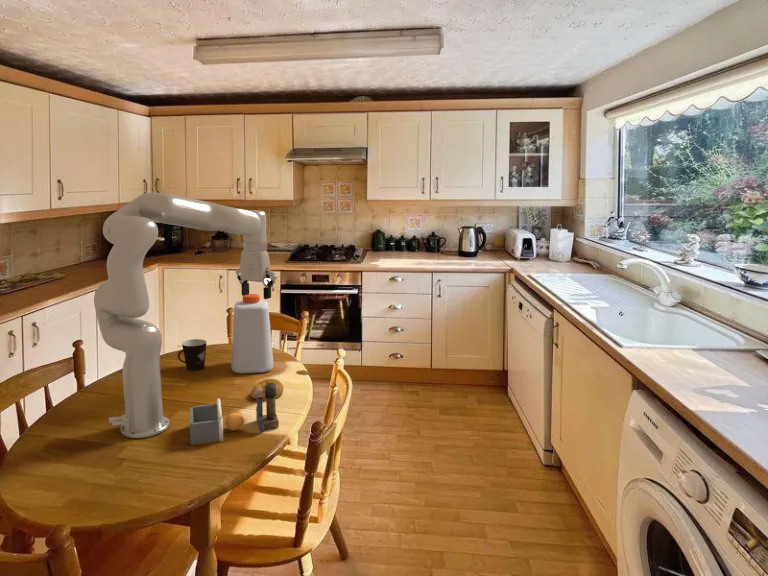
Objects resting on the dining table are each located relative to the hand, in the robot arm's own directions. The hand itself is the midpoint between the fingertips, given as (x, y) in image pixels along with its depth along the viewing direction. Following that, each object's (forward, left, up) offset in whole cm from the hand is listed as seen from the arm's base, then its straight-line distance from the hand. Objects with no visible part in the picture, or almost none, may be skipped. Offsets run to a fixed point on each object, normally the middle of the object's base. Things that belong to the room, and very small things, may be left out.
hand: (256, 296), depth 179 cm
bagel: (+1, -13, -31) cm, 34 cm away
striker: (-2, -35, -30) cm, 47 cm away
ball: (-10, -35, -28) cm, 47 cm away
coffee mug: (-22, +19, -31) cm, 42 cm away
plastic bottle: (0, +15, -31) cm, 34 cm away
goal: (-18, -35, -31) cm, 50 cm away
